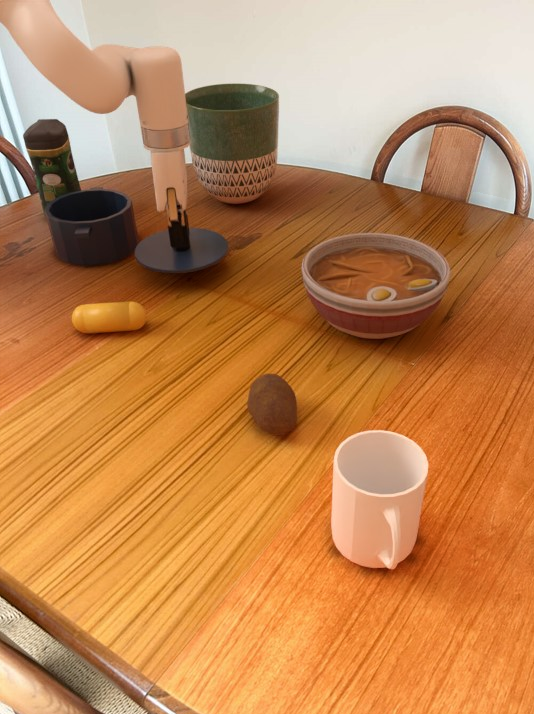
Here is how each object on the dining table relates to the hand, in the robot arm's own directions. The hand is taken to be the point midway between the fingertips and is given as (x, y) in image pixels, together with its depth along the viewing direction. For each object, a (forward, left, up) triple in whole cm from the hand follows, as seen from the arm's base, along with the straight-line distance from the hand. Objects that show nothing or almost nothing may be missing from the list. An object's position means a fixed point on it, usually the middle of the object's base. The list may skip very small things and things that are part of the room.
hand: (180, 240), depth 116 cm
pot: (-17, +12, -6) cm, 22 cm away
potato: (+13, -43, -6) cm, 45 cm away
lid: (0, 0, -2) cm, 2 cm away
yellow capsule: (-11, -18, -6) cm, 22 cm away
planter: (+11, +32, -6) cm, 34 cm away
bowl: (+31, -20, -6) cm, 37 cm away
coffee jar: (-26, +29, -6) cm, 40 cm away
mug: (+23, -65, -6) cm, 69 cm away
